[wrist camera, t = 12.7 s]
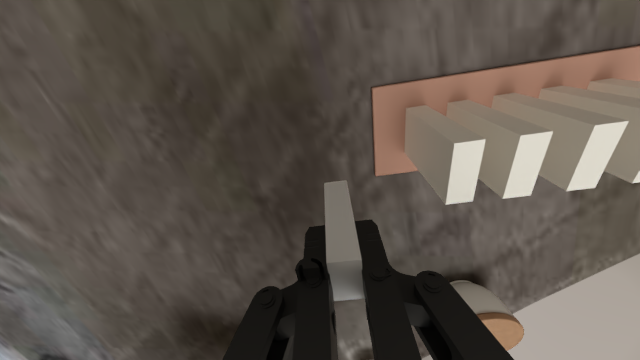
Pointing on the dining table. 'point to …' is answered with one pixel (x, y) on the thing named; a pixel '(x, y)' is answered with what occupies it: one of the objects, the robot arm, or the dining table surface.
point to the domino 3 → (568, 138)
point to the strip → (484, 94)
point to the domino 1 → (443, 153)
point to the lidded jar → (491, 312)
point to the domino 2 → (504, 147)
